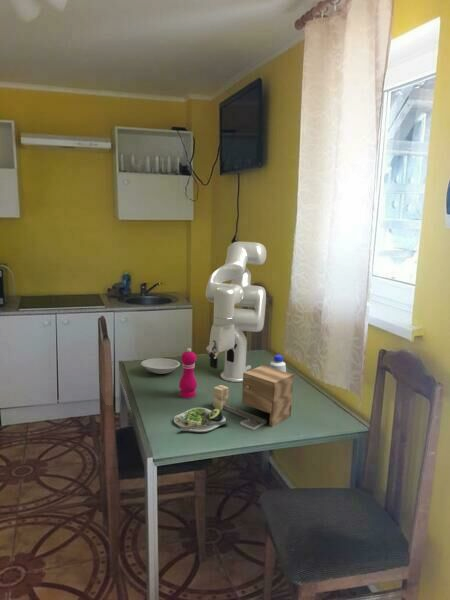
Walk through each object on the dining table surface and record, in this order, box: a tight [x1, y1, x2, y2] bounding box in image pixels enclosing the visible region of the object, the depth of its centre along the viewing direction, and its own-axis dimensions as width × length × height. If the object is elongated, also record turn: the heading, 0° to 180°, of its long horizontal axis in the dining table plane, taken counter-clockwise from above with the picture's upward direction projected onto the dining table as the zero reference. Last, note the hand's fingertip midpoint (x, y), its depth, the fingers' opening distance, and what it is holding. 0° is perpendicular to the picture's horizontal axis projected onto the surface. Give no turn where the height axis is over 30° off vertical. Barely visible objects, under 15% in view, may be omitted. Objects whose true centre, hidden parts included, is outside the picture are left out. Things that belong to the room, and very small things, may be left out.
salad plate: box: [173, 407, 231, 433], centre depth 178 cm, size 19×18×5 cm
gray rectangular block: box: [239, 417, 265, 431], centre depth 179 cm, size 6×6×2 cm
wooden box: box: [241, 364, 295, 427], centre depth 185 cm, size 13×14×16 cm
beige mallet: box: [212, 384, 267, 426], centre depth 186 cm, size 4×23×8 cm, turn 50°
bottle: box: [269, 354, 287, 372], centre depth 197 cm, size 7×7×20 cm
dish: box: [140, 357, 181, 375], centre depth 226 cm, size 18×14×5 cm
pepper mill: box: [178, 347, 198, 399], centre depth 201 cm, size 7×7×20 cm
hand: (222, 364), depth 190 cm, fingers open, 9 cm apart
